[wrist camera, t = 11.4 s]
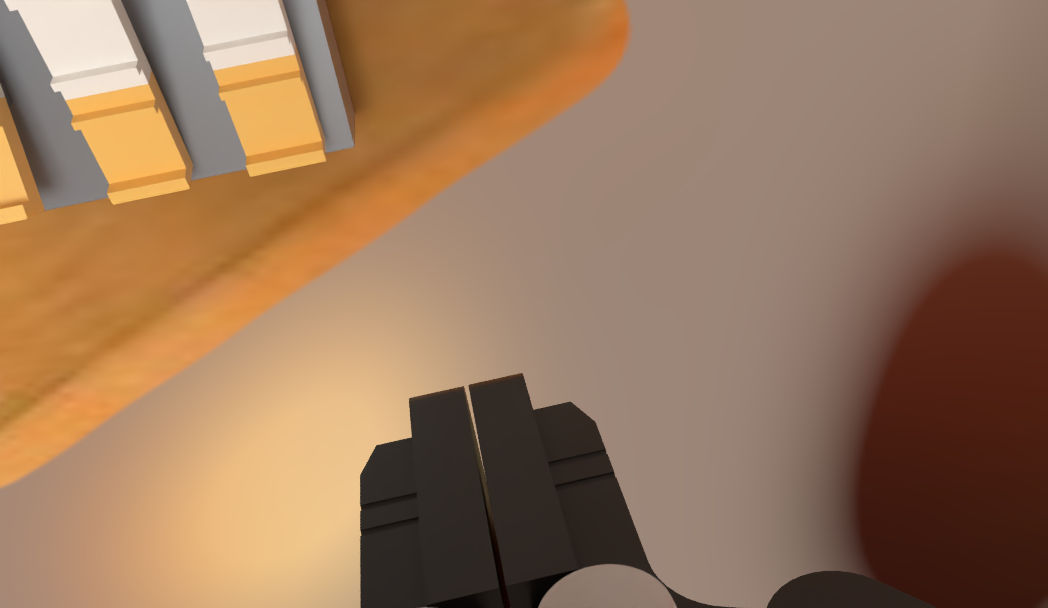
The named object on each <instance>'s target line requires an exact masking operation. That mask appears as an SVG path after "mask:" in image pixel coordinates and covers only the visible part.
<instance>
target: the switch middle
mask: <svg viewBox="0 0 1048 608" xmlns="http://www.w3.org/2000/svg"><path fill="white" fill-rule="evenodd" d="M4 1H5V3H6V5H7V7H8V9H9V11H14V10H18V11H19V13H20V15H21V17H22V19H23V21H24V23H25V25H26V27H27V29H28V30H29V32H30V34H31V36H32V38H33V40H34V42H35V44H36V46H37V48H38V49H39V51H40V53H41V55H42V57H43V59H44V61H45V63H46V65H47V67H48V69H49V70H50V72H51V74H52V76H53V78H52V80H51V83H50V85H51V87H52V89H53V91H54V92H59V91H61V93H62V95H63V97H64V99H65V101H66V103H67V105H68V107H69V109H70V110H71V112H72V114H73V118H72V121H71V125H72V126H73V128H74V130H75V131H77V130H81V131H82V133H83V135H84V137H85V139H86V141H87V143H88V145H89V147H90V148H91V150H92V152H93V154H94V156H95V158H96V160H97V162H98V164H99V166H100V168H101V169H102V171H103V173H104V175H105V177H106V179H107V181H108V183H109V187H108V191H107V195H108V197H109V199H110V200H111V202H112V204H113V205H114V204H119V203H124V202H128V201H133V200H138V199H143V198H148V197H153V196H158V195H162V194H167V193H172V192H177V191H182V190H187V189H190V185H191V177H192V169H193V163H192V161H191V158H190V156H189V154H188V151H187V149H186V147H185V145H184V142H183V140H182V138H181V136H180V133H179V131H178V129H177V126H176V124H175V122H174V120H173V117H172V115H171V113H170V111H169V108H168V106H167V104H166V101H165V99H164V97H163V95H162V92H161V90H160V88H159V86H158V83H157V81H156V79H155V76H154V74H153V72H152V70H151V67H150V65H149V63H148V61H147V58H146V56H145V54H144V51H143V49H142V47H141V45H140V42H139V40H138V38H137V36H136V33H135V31H134V29H133V26H132V24H131V22H130V20H129V17H128V15H127V13H126V11H125V8H124V6H123V4H122V1H121V0H4Z"/></svg>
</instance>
